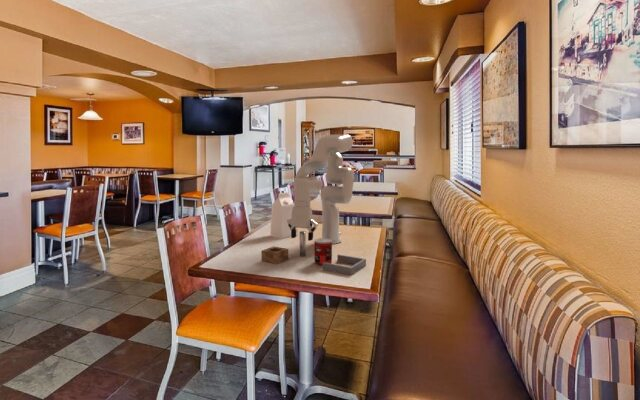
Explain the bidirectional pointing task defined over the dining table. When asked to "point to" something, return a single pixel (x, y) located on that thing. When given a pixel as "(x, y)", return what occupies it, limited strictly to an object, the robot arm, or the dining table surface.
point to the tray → (345, 269)
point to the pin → (302, 243)
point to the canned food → (322, 251)
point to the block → (275, 255)
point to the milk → (281, 216)
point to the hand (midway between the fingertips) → (302, 238)
